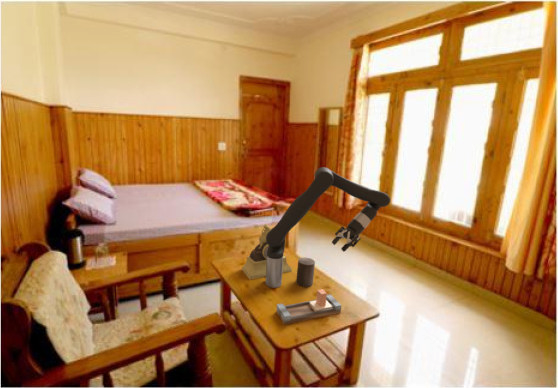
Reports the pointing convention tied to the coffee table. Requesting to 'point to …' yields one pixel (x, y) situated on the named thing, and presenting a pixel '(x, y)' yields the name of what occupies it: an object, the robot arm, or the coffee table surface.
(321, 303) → the carriage
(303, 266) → the pillar candle
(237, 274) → the coffee table surface
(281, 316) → the rail
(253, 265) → the decorative clock
